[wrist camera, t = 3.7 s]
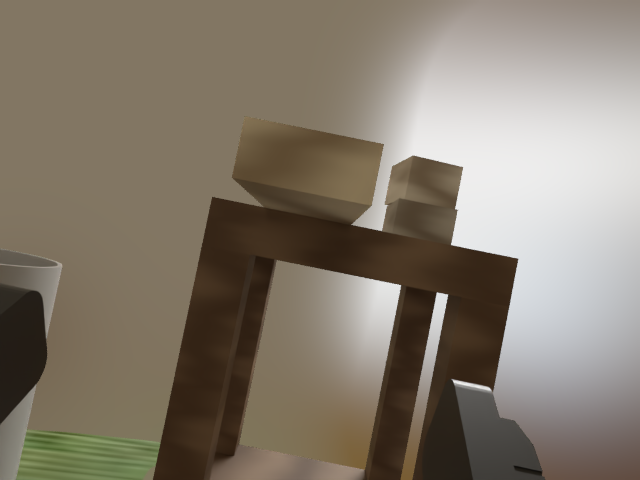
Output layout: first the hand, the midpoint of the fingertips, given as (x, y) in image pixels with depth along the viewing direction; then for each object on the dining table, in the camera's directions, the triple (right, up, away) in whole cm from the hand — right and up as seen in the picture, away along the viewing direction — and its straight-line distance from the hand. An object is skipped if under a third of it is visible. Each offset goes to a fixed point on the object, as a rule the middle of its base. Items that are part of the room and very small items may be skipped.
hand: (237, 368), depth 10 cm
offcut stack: (+8, +2, +27) cm, 28 cm away
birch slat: (+1, +4, +18) cm, 19 cm away
